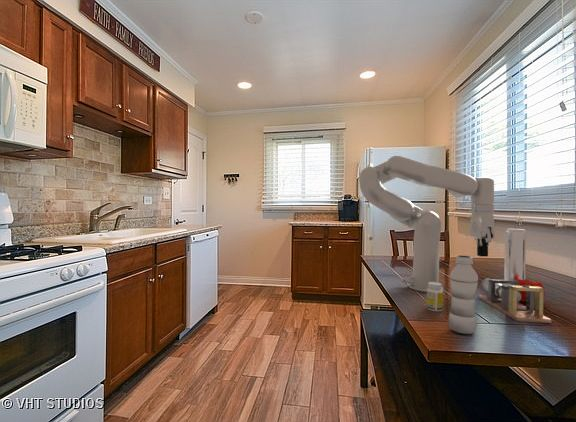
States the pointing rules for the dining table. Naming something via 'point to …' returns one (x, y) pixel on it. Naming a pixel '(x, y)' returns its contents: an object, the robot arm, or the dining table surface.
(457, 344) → the dining table surface
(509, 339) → the dining table surface
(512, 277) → the air filter
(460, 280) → the plastic bottle
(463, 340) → the dining table surface
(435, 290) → the supplement bottle
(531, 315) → the collar rail
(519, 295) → the air tube
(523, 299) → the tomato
